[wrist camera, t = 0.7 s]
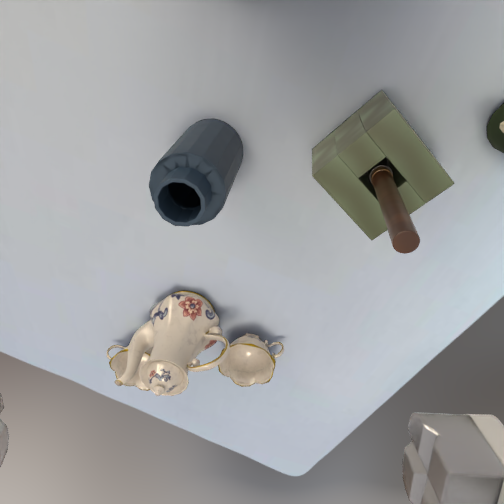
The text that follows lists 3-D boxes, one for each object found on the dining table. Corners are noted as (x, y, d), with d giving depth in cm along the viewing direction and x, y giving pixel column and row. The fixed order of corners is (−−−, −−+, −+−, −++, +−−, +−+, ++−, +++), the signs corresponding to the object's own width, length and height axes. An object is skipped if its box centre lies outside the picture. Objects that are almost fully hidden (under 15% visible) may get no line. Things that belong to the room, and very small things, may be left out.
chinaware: (135, 366, 78) (101, 456, 64) (91, 296, 68) (40, 386, 55) (290, 347, 71) (288, 443, 58) (264, 268, 62) (255, 361, 49)
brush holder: (381, 89, 48) (395, 108, 41) (433, 155, 51) (454, 183, 44) (312, 149, 53) (312, 175, 45) (363, 206, 56) (371, 240, 48)
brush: (374, 137, 51) (410, 222, 32) (386, 152, 52) (429, 243, 33) (357, 151, 52) (383, 240, 33) (369, 165, 53) (402, 261, 34)
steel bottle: (222, 107, 51) (191, 148, 38) (254, 162, 54) (235, 220, 41) (170, 136, 54) (123, 185, 40) (203, 188, 57) (169, 250, 43)
